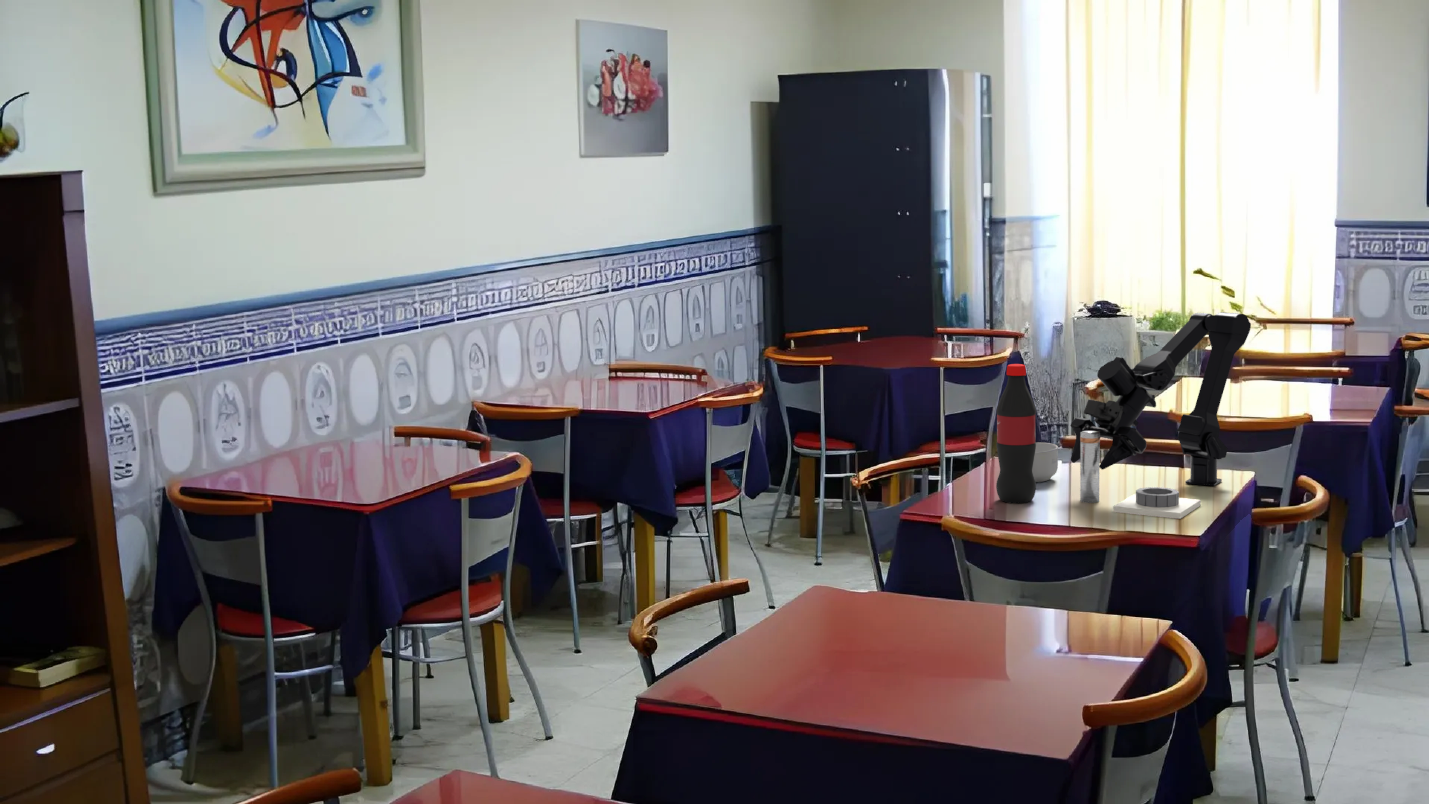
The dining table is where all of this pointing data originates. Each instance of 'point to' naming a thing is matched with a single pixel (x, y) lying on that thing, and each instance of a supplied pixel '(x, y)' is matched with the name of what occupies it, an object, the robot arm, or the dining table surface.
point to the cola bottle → (1016, 439)
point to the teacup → (1045, 461)
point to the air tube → (1089, 466)
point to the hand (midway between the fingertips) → (1086, 464)
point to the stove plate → (1157, 511)
